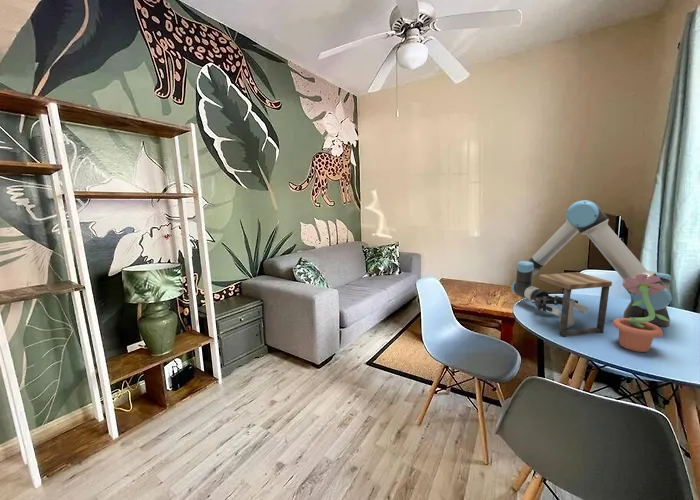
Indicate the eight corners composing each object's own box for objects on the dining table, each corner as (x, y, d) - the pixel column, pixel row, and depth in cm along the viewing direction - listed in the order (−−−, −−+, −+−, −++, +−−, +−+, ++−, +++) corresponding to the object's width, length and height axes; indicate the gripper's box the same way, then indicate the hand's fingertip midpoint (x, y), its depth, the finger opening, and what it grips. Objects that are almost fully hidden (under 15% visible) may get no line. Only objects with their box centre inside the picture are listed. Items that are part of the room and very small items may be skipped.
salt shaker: (560, 327, 132) (563, 300, 130) (556, 322, 137) (559, 296, 135) (576, 329, 130) (579, 301, 128) (571, 324, 136) (574, 297, 133)
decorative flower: (661, 346, 114) (674, 272, 108) (665, 362, 104) (680, 280, 98) (610, 335, 124) (619, 266, 118) (609, 348, 114) (620, 274, 108)
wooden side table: (573, 318, 142) (578, 272, 138) (605, 332, 126) (612, 281, 122) (534, 321, 139) (538, 274, 135) (562, 337, 124) (568, 285, 119)
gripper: (557, 300, 153) (596, 317, 132) (513, 304, 150) (546, 321, 129) (559, 287, 151) (598, 301, 131) (514, 290, 148) (548, 305, 128)
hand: (572, 311), depth 130 cm, fingers open, 13 cm apart
